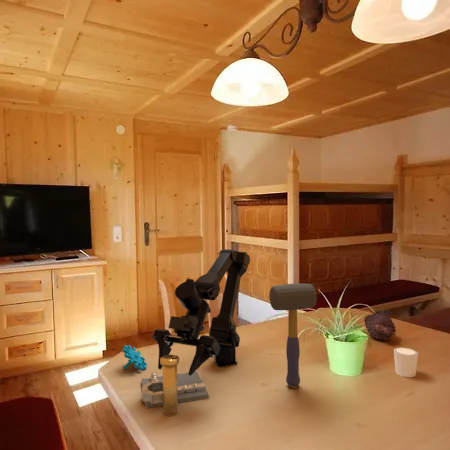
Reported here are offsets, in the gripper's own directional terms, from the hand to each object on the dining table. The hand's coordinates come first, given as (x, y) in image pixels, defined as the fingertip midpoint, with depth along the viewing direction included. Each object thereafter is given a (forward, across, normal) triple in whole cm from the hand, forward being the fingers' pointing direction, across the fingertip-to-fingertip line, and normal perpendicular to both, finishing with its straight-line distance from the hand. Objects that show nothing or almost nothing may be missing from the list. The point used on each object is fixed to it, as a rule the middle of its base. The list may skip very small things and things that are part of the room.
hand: (174, 371), depth 97 cm
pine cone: (-47, +47, +60) cm, 90 cm away
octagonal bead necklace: (0, -6, +12) cm, 13 cm away
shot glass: (-26, +55, +39) cm, 72 cm away
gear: (-4, -25, +18) cm, 32 cm away
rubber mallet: (-10, +25, +24) cm, 36 cm away
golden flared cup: (+8, 0, +6) cm, 10 cm away
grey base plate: (+1, -6, +13) cm, 14 cm away
